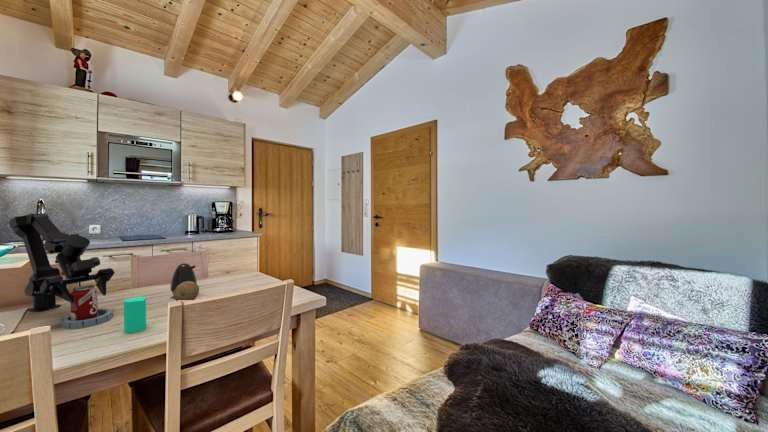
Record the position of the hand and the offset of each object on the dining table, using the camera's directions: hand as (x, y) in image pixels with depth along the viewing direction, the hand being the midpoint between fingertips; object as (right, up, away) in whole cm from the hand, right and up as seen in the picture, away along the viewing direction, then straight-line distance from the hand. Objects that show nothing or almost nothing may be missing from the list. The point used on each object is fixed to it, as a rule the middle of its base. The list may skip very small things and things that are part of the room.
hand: (89, 298), depth 106 cm
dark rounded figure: (+13, -8, +31) cm, 34 cm away
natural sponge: (+21, -8, +20) cm, 31 cm away
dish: (-2, -8, +1) cm, 9 cm away
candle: (+20, -10, -4) cm, 22 cm away
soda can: (-2, -8, 0) cm, 8 cm away
